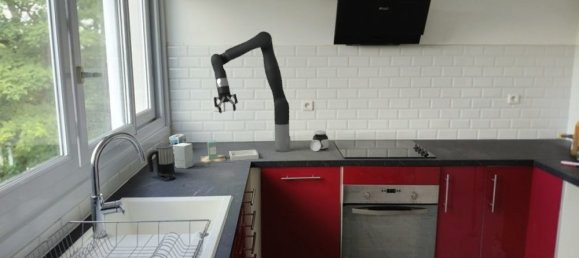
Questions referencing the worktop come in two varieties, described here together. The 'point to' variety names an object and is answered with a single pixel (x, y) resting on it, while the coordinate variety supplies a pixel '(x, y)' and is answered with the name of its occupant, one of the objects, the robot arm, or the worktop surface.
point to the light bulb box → (177, 139)
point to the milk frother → (162, 161)
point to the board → (206, 160)
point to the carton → (212, 150)
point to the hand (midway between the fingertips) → (227, 112)
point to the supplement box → (183, 155)
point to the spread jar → (319, 141)
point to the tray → (243, 155)
